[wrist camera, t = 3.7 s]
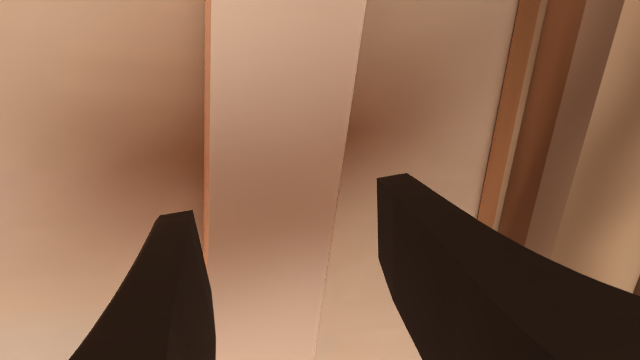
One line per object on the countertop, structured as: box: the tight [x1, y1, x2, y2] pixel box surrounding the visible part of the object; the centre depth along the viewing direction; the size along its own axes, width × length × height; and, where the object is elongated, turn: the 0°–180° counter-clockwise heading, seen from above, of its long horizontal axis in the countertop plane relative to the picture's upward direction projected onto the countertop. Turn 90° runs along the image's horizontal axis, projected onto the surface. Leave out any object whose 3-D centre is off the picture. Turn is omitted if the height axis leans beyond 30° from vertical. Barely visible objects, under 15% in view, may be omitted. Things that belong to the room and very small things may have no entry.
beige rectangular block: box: [203, 0, 367, 360], centre depth 14 cm, size 3×12×4 cm, turn 174°
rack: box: [477, 0, 640, 296], centre depth 18 cm, size 8×20×2 cm, turn 179°
